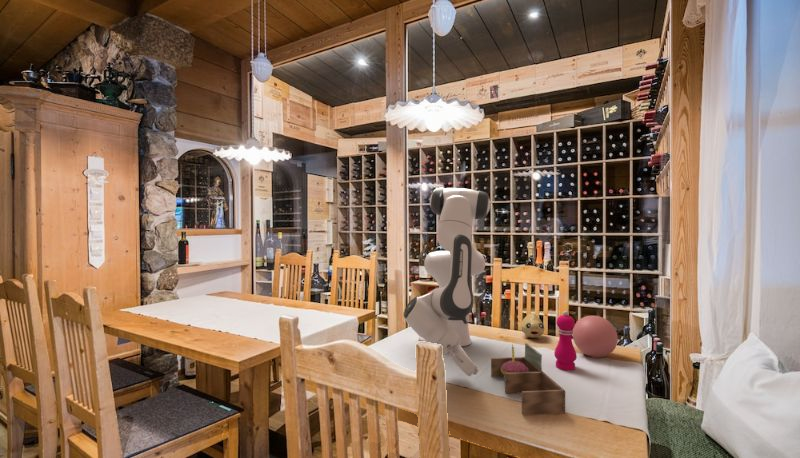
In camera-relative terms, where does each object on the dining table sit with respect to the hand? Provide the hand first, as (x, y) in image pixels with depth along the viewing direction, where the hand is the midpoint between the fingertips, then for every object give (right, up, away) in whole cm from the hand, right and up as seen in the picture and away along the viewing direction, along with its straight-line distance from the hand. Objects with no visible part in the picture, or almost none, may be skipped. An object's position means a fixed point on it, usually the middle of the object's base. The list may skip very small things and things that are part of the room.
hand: (475, 371), depth 123 cm
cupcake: (+13, -5, +1) cm, 13 cm away
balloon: (+51, -4, +29) cm, 58 cm away
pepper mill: (+35, -4, +15) cm, 38 cm away
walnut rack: (+14, -5, -5) cm, 15 cm away
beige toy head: (+35, -4, +50) cm, 61 cm away
